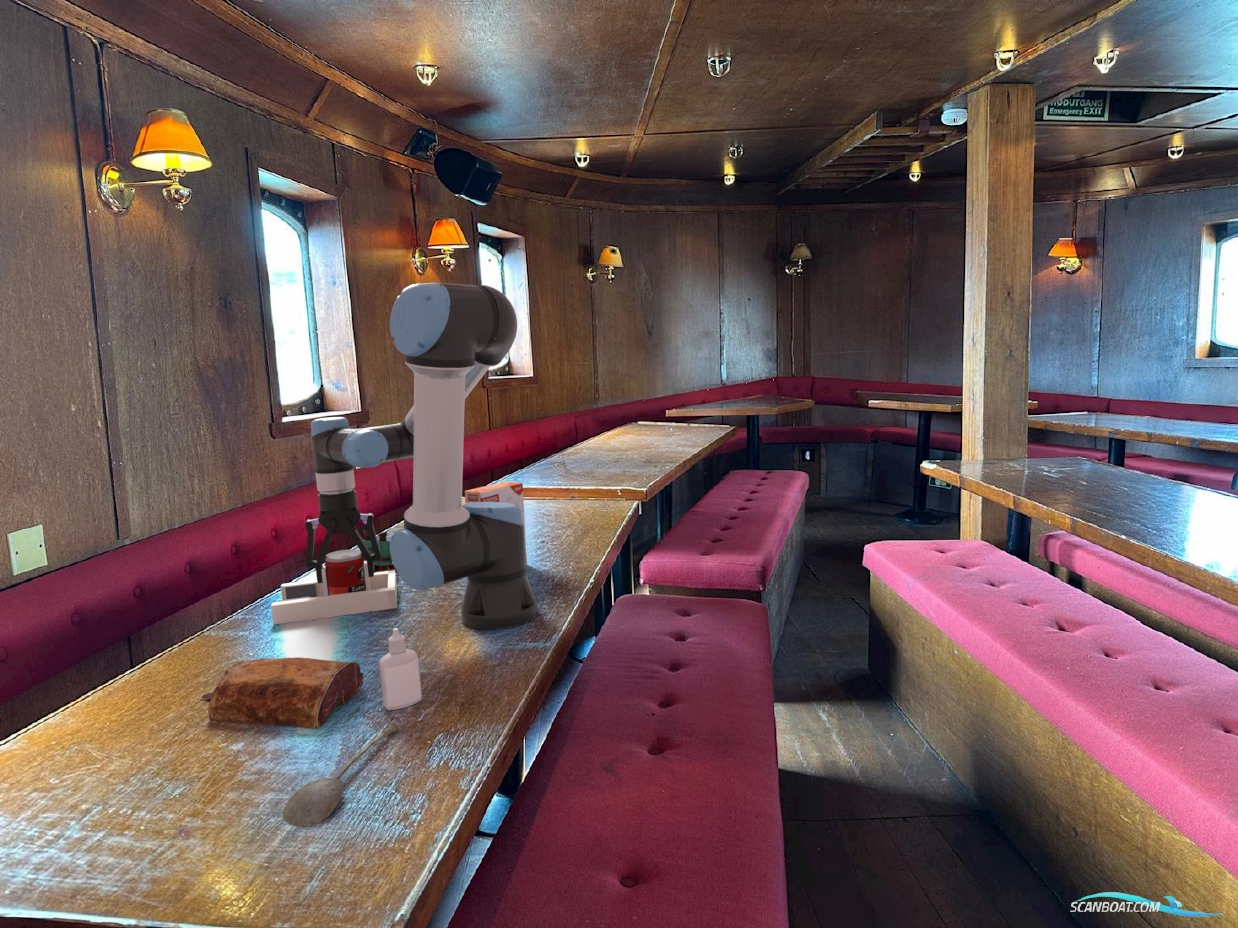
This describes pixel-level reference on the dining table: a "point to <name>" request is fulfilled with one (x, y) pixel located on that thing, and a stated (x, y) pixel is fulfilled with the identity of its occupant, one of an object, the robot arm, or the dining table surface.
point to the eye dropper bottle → (400, 674)
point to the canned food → (345, 572)
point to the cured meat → (283, 691)
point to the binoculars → (384, 545)
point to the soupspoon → (323, 792)
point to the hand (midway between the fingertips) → (348, 593)
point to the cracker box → (499, 496)
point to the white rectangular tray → (333, 600)
